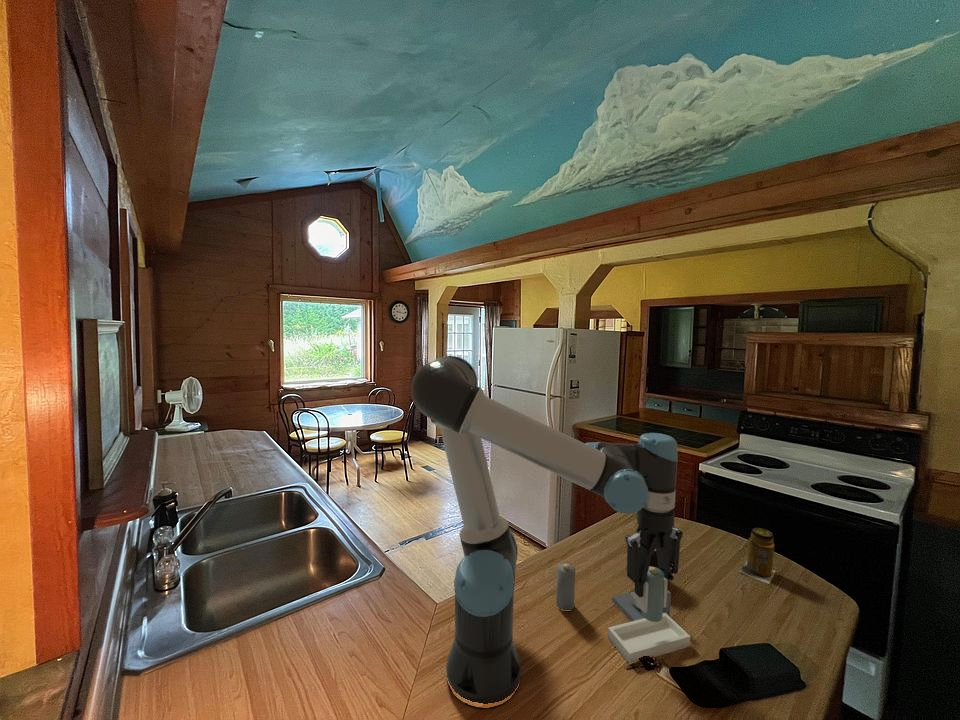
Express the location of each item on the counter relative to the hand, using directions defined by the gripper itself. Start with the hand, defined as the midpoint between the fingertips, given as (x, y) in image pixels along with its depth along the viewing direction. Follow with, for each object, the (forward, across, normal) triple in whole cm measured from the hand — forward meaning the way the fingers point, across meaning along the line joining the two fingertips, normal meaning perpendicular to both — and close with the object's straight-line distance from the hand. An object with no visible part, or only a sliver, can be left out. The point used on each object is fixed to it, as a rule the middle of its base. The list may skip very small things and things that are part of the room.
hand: (651, 605), depth 92 cm
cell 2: (+2, 0, 0) cm, 2 cm away
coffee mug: (+9, +17, +21) cm, 28 cm away
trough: (+9, 0, 0) cm, 9 cm away
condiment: (+9, +48, +12) cm, 50 cm away
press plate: (+7, +5, +9) cm, 12 cm away
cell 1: (+9, -12, +16) cm, 22 cm away
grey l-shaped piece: (+9, +5, +9) cm, 14 cm away
